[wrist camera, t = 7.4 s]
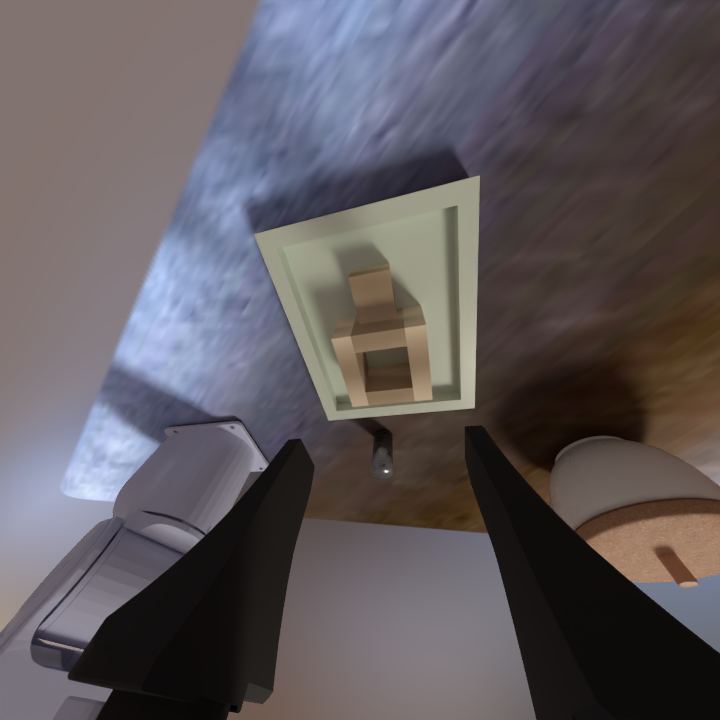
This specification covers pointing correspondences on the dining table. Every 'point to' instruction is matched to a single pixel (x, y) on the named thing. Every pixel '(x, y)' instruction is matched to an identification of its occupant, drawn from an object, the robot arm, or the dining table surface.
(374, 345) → the wooden frame with tab
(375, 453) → the post
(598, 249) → the dining table surface
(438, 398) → the sage tray
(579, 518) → the lidded jar
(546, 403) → the dining table surface
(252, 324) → the dining table surface
